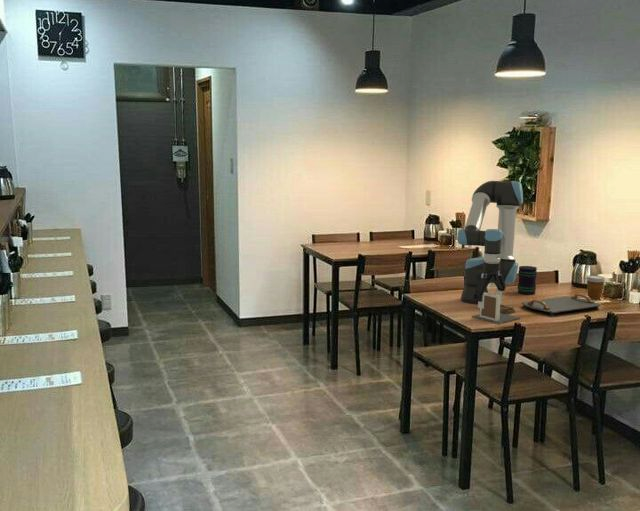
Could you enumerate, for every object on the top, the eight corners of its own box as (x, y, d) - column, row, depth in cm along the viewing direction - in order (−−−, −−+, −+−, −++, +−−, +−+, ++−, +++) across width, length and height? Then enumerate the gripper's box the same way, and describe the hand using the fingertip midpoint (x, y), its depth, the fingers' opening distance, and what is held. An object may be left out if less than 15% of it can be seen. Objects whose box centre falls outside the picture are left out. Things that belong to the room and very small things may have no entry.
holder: (482, 309, 320) (482, 304, 320) (492, 306, 325) (492, 301, 324) (505, 314, 309) (505, 309, 309) (515, 312, 314) (515, 307, 314)
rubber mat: (471, 317, 304) (471, 316, 304) (492, 312, 314) (492, 311, 314) (499, 324, 292) (499, 323, 292) (519, 318, 302) (519, 317, 301)
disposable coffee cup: (586, 299, 341) (587, 278, 339) (583, 295, 350) (585, 274, 348) (605, 300, 339) (606, 279, 337) (601, 296, 348) (603, 275, 346)
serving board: (569, 300, 341) (570, 289, 340) (605, 310, 321) (606, 298, 320) (515, 308, 325) (516, 296, 324) (549, 318, 304) (550, 306, 303)
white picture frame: (479, 316, 303) (480, 292, 301) (482, 316, 304) (483, 291, 302) (496, 321, 295) (497, 296, 293) (499, 320, 297) (500, 295, 295)
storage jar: (534, 291, 360) (536, 266, 358) (536, 295, 351) (537, 269, 348) (516, 290, 362) (518, 265, 360) (517, 294, 353) (519, 268, 351)
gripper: (481, 266, 285) (479, 311, 288) (514, 260, 300) (512, 303, 303) (468, 263, 291) (466, 308, 294) (501, 258, 306) (499, 300, 309)
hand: (489, 306), depth 299 cm, fingers open, 13 cm apart
